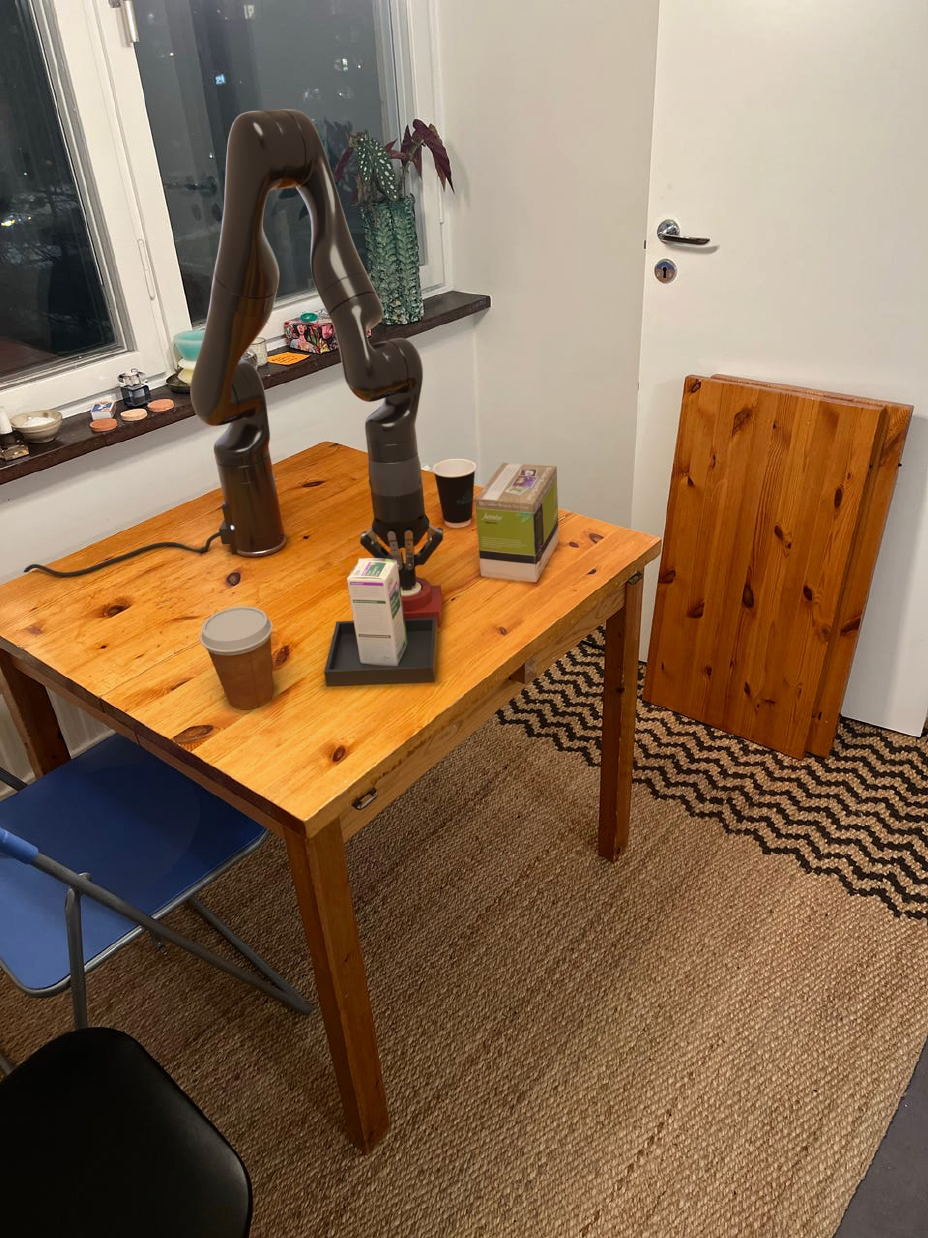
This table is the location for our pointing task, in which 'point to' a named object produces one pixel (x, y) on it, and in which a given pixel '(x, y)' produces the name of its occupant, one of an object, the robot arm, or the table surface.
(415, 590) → the button
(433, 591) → the red square pod holder
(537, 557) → the tea box
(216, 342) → the robot arm
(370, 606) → the syrup box
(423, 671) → the tray
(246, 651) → the disposable coffee cup
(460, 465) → the dixie cup
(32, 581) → the table surface
